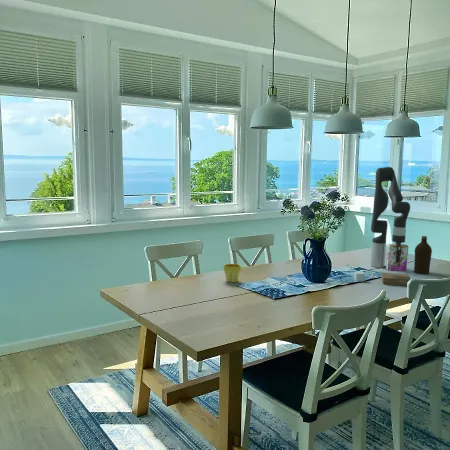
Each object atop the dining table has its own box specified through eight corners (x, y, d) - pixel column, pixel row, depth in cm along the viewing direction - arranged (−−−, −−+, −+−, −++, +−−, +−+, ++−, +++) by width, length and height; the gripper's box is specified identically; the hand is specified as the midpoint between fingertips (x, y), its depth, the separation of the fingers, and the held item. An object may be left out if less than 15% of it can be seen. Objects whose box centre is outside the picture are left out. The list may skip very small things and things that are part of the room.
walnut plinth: (381, 278, 299) (381, 272, 298) (407, 280, 295) (408, 274, 294) (383, 284, 285) (383, 277, 285) (410, 286, 282) (411, 280, 281)
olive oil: (425, 275, 310) (428, 238, 306) (410, 272, 318) (412, 235, 314) (432, 273, 316) (436, 236, 313) (418, 270, 324) (420, 234, 321)
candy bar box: (387, 271, 287) (389, 244, 285) (386, 269, 292) (387, 243, 290) (406, 271, 286) (408, 245, 284) (404, 270, 291) (406, 244, 289)
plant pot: (229, 277, 294) (230, 262, 293) (243, 280, 288) (244, 265, 287) (220, 281, 286) (220, 265, 284) (234, 284, 280) (234, 268, 278)
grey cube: (353, 279, 296) (354, 271, 295) (361, 279, 296) (362, 271, 295) (356, 281, 291) (356, 273, 290) (364, 281, 291) (364, 273, 290)
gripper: (391, 232, 294) (389, 258, 296) (393, 235, 280) (391, 263, 282) (404, 232, 292) (402, 259, 294) (407, 236, 278) (404, 264, 281)
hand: (397, 261), depth 288 cm, fingers closed on candy bar box, 5 cm apart
